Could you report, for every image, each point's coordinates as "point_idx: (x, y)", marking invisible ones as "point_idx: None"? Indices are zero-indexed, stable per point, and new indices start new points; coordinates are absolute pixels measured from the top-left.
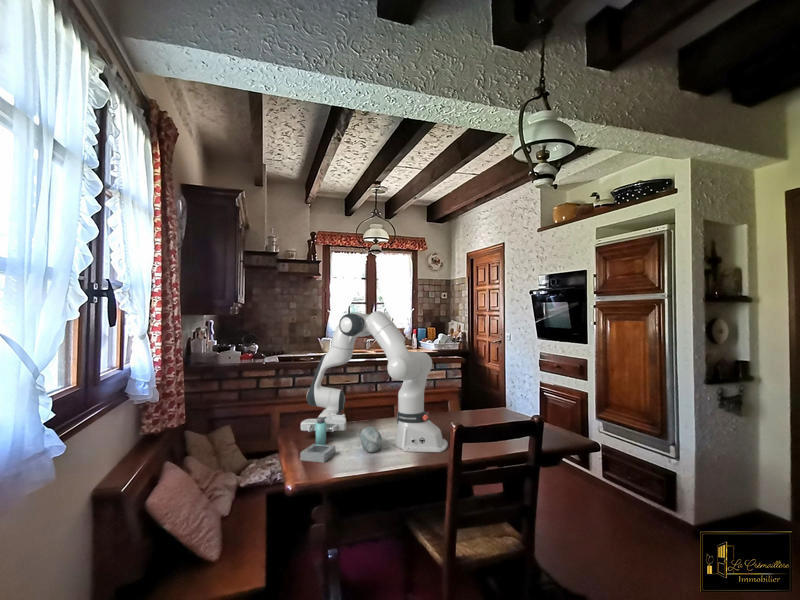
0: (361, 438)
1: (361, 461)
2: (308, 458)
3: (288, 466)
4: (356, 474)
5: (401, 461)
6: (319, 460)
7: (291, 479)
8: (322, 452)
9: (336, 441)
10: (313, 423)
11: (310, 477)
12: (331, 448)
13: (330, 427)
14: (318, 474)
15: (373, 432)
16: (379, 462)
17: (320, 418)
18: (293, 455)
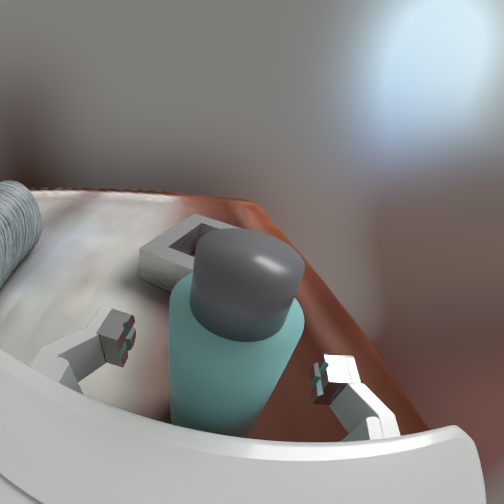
0: (33, 215)
1: (86, 220)
2: None
3: (293, 247)
4: (128, 192)
5: None
6: None
7: (262, 210)
8: (200, 223)
9: None
10: (353, 441)
11: (224, 205)
12: (162, 235)
13: (123, 326)
14: (207, 208)
15: (5, 181)
16: (54, 209)
17: (252, 240)
18: (315, 302)
